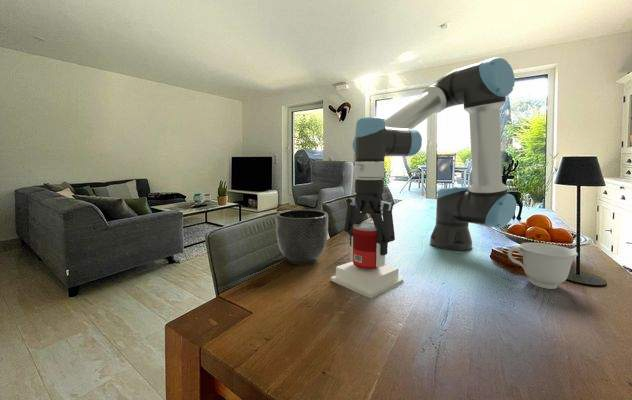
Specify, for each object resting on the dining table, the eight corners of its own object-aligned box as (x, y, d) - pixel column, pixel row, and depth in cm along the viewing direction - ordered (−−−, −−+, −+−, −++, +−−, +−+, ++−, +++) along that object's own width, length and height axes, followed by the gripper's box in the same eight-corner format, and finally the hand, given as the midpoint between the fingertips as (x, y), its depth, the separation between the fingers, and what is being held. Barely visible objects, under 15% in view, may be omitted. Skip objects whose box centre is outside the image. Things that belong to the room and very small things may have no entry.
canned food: (382, 270, 74) (383, 229, 72) (351, 268, 75) (351, 227, 74) (381, 260, 81) (382, 222, 80) (353, 259, 83) (354, 221, 81)
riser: (363, 268, 89) (363, 256, 88) (403, 282, 78) (403, 268, 78) (330, 280, 80) (330, 266, 79) (370, 298, 69) (371, 282, 69)
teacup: (499, 272, 85) (501, 239, 84) (559, 278, 81) (563, 244, 80) (513, 289, 74) (516, 252, 73) (584, 297, 69) (589, 258, 68)
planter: (338, 264, 92) (338, 215, 90) (289, 274, 84) (288, 220, 82) (312, 250, 107) (312, 208, 105) (268, 257, 99) (267, 211, 97)
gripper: (331, 177, 81) (331, 255, 84) (394, 181, 65) (391, 277, 68) (349, 176, 85) (348, 250, 88) (412, 179, 70) (408, 269, 73)
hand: (367, 261), depth 78 cm, fingers closed on canned food, 8 cm apart
